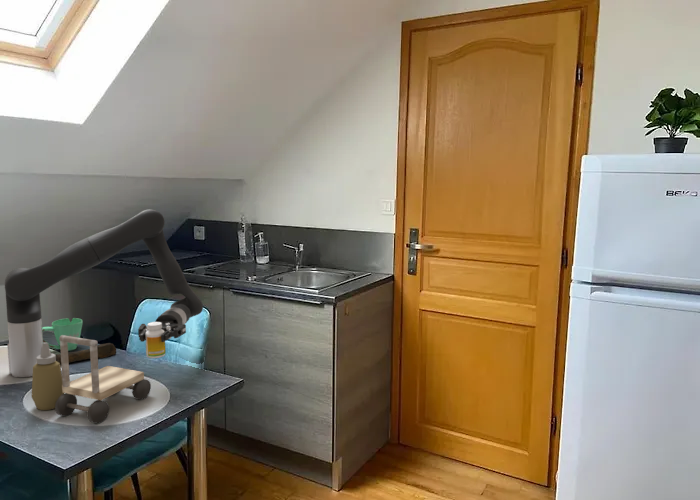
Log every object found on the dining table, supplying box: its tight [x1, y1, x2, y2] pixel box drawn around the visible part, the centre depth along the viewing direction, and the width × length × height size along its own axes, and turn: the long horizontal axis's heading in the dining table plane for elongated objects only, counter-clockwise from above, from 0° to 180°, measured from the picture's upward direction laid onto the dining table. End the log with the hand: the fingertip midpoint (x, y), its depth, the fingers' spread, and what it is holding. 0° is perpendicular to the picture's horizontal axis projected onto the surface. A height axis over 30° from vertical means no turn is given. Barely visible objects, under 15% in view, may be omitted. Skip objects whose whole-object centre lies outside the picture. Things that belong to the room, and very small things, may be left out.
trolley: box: [54, 335, 152, 424], centre depth 153 cm, size 13×22×22 cm, turn 159°
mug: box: [42, 317, 83, 352], centre depth 199 cm, size 15×10×10 cm
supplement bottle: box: [145, 321, 166, 359], centre depth 164 cm, size 5×5×10 cm
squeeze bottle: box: [31, 341, 65, 411], centre depth 152 cm, size 8×8×18 cm
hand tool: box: [55, 342, 117, 366], centre depth 190 cm, size 19×4×5 cm, turn 127°
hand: (152, 338), depth 161 cm, fingers closed on supplement bottle, 5 cm apart
